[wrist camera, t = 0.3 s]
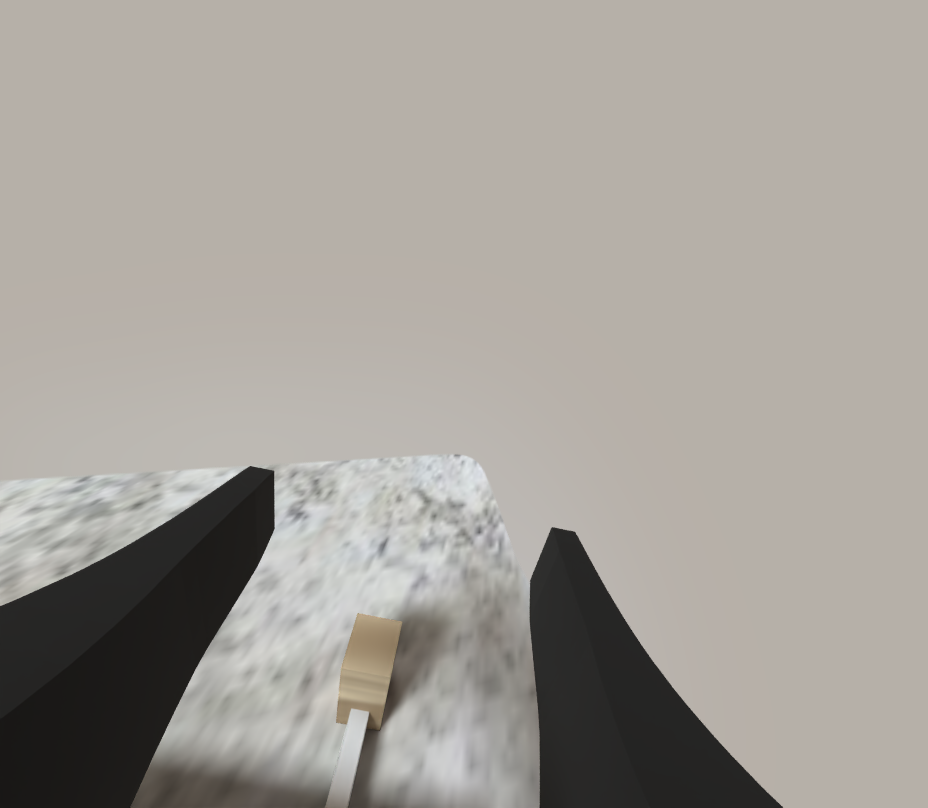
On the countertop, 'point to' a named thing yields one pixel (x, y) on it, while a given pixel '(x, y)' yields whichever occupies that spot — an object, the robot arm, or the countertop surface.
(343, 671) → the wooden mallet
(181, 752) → the countertop surface
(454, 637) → the countertop surface
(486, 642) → the countertop surface
